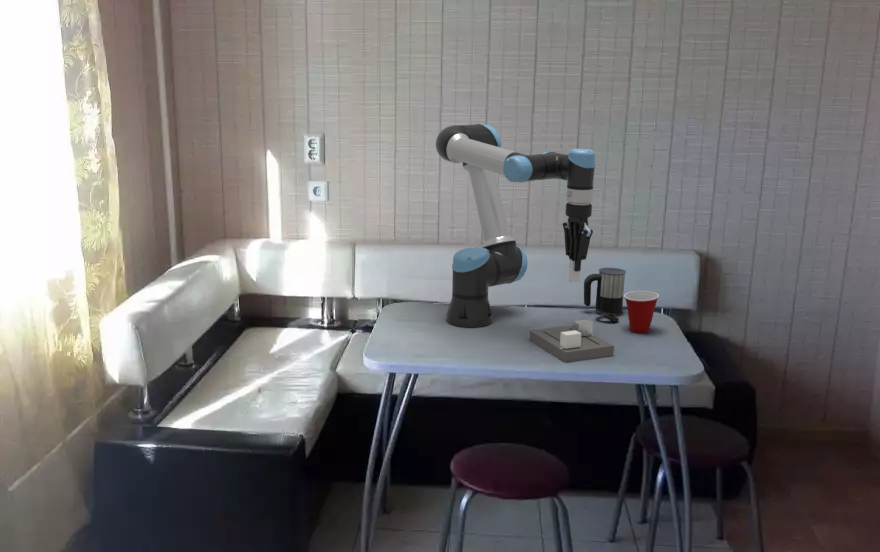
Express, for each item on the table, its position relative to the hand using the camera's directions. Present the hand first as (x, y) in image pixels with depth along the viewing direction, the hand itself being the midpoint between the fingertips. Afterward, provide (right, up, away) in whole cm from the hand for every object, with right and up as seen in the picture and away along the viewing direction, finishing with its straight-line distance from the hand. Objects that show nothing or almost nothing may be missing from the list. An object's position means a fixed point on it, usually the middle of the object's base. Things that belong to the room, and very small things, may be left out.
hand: (574, 280), depth 245 cm
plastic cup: (+23, -16, +14) cm, 31 cm away
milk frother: (+16, -12, +29) cm, 36 cm away
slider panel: (-1, -20, -2) cm, 20 cm away
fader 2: (+2, -16, -1) cm, 16 cm away
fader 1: (-3, -19, -11) cm, 22 cm away
